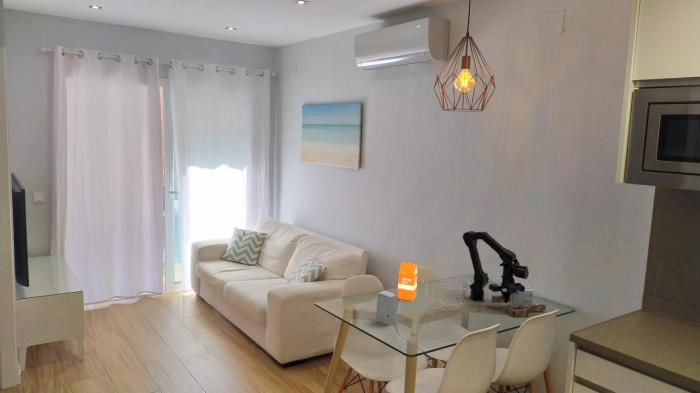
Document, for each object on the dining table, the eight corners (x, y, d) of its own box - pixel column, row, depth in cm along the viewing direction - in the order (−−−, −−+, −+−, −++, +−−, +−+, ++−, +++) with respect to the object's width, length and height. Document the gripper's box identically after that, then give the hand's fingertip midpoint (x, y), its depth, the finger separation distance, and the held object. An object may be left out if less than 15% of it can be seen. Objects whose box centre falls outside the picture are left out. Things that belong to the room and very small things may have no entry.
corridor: (511, 317, 263) (512, 309, 262) (491, 301, 285) (492, 294, 285) (551, 316, 267) (552, 308, 267) (528, 300, 290) (529, 293, 289)
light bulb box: (528, 305, 282) (530, 286, 280) (532, 309, 276) (534, 290, 274) (509, 303, 283) (511, 285, 281) (512, 308, 276) (514, 289, 275)
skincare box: (375, 321, 250) (376, 292, 248) (382, 317, 254) (384, 289, 252) (389, 326, 245) (390, 296, 242) (396, 322, 249) (397, 293, 247)
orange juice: (412, 301, 280) (414, 266, 277) (397, 298, 284) (399, 263, 280) (416, 296, 288) (418, 262, 284) (401, 294, 291) (403, 260, 288)
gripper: (498, 279, 265) (496, 308, 267) (531, 279, 268) (528, 307, 271) (489, 273, 276) (487, 301, 278) (521, 273, 279) (518, 300, 281)
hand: (505, 302), depth 277 cm, fingers closed, pressing on light bulb box
